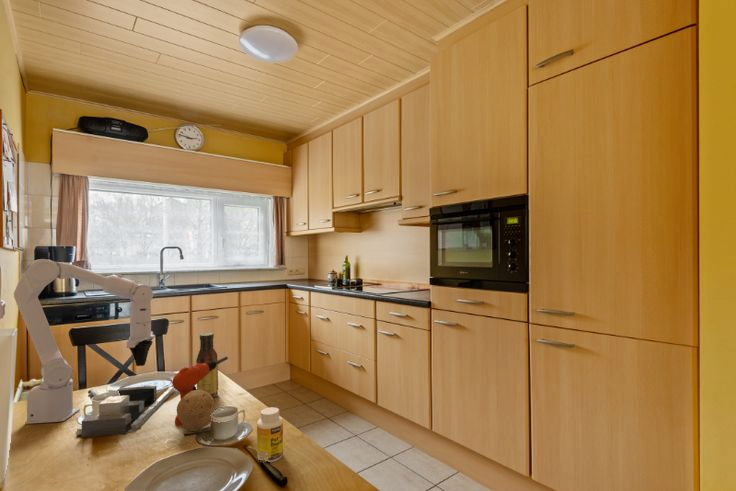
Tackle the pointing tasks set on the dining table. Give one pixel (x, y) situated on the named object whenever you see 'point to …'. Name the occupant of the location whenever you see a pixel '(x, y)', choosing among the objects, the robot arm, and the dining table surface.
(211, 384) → the sauce bottle
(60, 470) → the dining table surface
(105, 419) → the vise base
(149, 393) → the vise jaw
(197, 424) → the natural sponge
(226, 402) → the dining table surface
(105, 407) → the steel block
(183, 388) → the toy drill
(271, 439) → the supplement bottle
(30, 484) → the dining table surface
